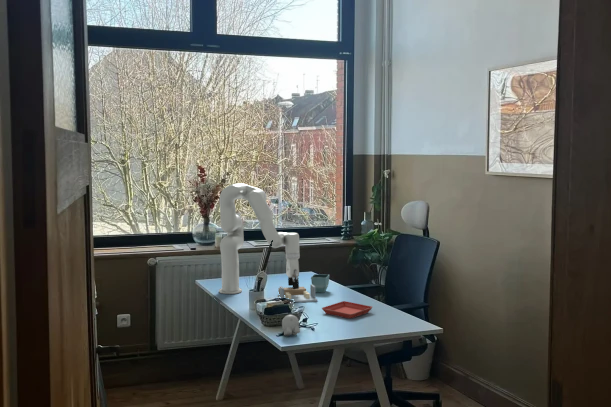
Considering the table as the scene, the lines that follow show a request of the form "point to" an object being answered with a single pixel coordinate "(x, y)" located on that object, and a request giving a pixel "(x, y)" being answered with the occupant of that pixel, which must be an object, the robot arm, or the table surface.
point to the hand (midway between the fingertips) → (293, 287)
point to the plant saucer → (346, 309)
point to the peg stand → (300, 298)
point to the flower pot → (320, 282)
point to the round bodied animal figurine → (290, 325)
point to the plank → (293, 291)
